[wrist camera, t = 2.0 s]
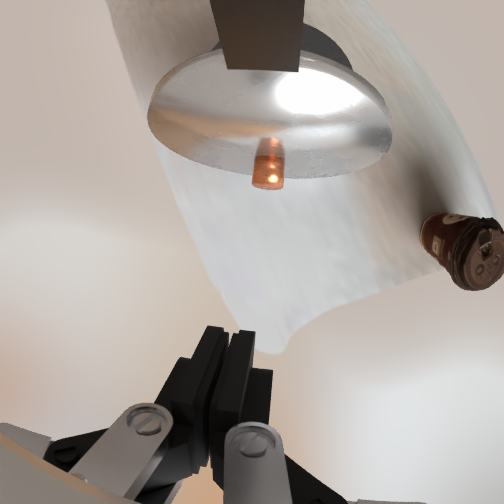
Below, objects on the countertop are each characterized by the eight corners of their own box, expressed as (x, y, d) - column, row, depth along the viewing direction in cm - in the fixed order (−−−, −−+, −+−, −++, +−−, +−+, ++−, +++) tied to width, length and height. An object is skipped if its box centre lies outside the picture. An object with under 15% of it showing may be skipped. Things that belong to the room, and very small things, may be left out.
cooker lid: (356, 174, 26) (355, 207, 26) (188, 160, 27) (182, 192, 27) (487, -5, 4) (521, 55, 4) (53, -14, 6) (14, 40, 5)
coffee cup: (423, 194, 35) (476, 208, 23) (467, 212, 35) (522, 231, 22) (406, 254, 38) (449, 290, 25) (449, 268, 37) (497, 303, 25)
